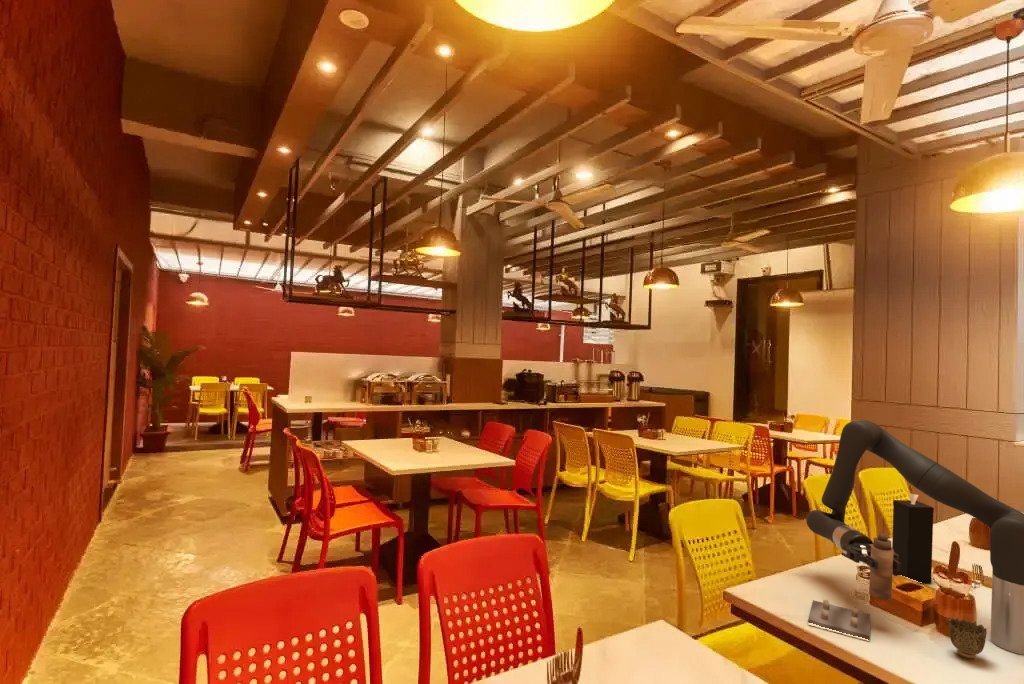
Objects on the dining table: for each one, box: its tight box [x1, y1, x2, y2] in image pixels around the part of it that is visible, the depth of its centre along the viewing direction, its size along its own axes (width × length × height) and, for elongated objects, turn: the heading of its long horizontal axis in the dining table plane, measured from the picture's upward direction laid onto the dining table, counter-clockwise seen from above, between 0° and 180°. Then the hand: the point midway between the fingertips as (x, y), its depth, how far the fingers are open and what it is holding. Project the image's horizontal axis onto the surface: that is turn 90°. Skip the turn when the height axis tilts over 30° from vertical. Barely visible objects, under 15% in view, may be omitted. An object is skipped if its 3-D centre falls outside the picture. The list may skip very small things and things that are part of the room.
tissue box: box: [891, 492, 935, 585], centre depth 183 cm, size 8×8×28 cm
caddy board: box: [807, 599, 871, 640], centre depth 153 cm, size 14×14×4 cm
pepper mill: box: [868, 533, 893, 601], centre depth 150 cm, size 5×5×17 cm
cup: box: [947, 617, 988, 661], centre depth 137 cm, size 8×7×8 cm
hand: (887, 566), depth 147 cm, fingers closed on pepper mill, 5 cm apart
